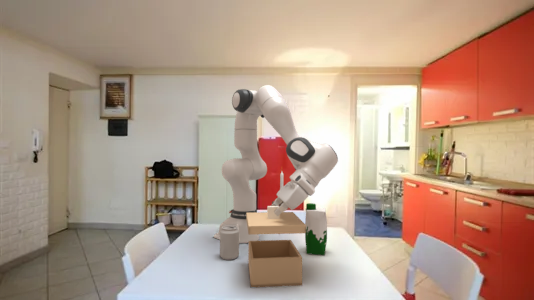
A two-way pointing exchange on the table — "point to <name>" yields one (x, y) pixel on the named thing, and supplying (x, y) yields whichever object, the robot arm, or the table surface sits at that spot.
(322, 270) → the table surface
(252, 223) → the carton lid
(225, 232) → the can
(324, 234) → the milk carton
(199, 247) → the table surface
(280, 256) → the carton
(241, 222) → the robot arm
